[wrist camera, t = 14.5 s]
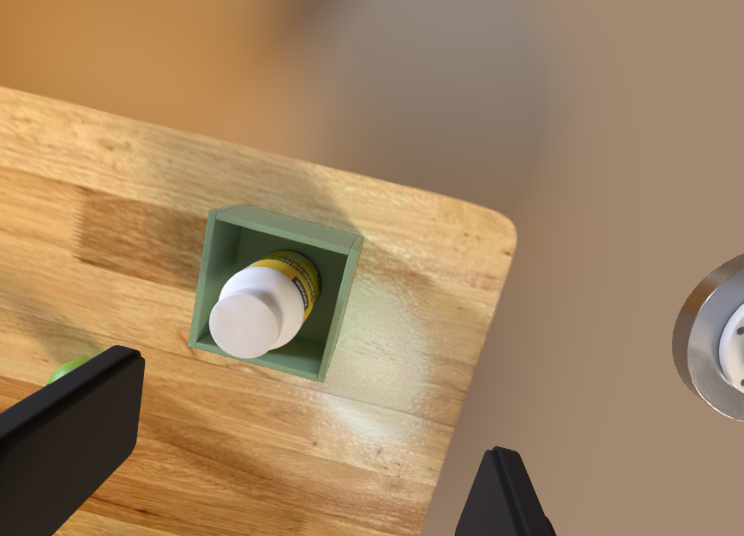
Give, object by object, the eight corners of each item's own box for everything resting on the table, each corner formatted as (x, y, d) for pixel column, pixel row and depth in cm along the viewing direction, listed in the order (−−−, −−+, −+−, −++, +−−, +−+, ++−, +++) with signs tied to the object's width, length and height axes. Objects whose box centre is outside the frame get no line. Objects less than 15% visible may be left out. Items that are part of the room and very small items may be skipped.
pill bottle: (334, 300, 37) (306, 354, 26) (273, 322, 38) (222, 384, 27) (306, 237, 36) (265, 266, 25) (245, 261, 37) (178, 300, 26)
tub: (364, 236, 36) (357, 250, 30) (335, 349, 39) (323, 383, 33) (241, 203, 36) (209, 210, 30) (221, 318, 39) (187, 346, 33)
